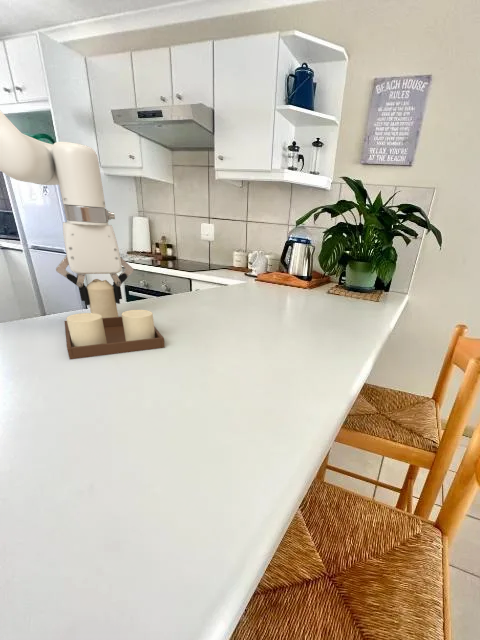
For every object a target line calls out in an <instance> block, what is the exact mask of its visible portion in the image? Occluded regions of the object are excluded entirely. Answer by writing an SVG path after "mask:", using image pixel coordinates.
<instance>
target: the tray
mask: <svg viewBox="0 0 480 640" xmlns="http://www.w3.org/2000/svg"><path fill="white" fill-rule="evenodd" d="M102 320H103V325H104V331H105V336H106V341H107V343H105V344H96V345H87V346H78V347H73V344H72V340H71V336H70V332H69V328H68V324H67V320H64V322H63V323H64V331H65V342H66V343H65V344H66V351H67V355H68V358H69V360H78V359H86V358H93V357H94V358H95V357H102V356H103V357H104V356H109V355H118V354H119V355H120V354H126V353H127V354H128V353H132V352H133V353H134V352H141V351H150V350H157V349H166V345H165V344H166V343H165V337H164V336H163V335H162V334H161V332H160V331H159V330H158V329H157V327H156V326H155V325H154V330H155V338H152V339H142V340H133V341H126V339H125V333H124V326H123V320H122V316H118V317H110V318H102Z"/></svg>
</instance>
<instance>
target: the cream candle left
mask: <svg viewBox="0 0 480 640" xmlns="http://www.w3.org/2000/svg"><path fill="white" fill-rule="evenodd" d="M65 320H66V321H67V324H68V328H69V332H70V336H71V340H72V344H73V347H78V346H87V345H96V344H105V343H107V341H106V336H105V331H104V325H103V320H102V316H101V315H99V314H95V313H91V312H80V313H75V314H71V315H68V316H67V317H66V319H65Z"/></svg>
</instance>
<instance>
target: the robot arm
mask: <svg viewBox="0 0 480 640" xmlns="http://www.w3.org/2000/svg"><path fill="white" fill-rule="evenodd" d="M11 121H12V120H10V119H9V118H8V116H6V115H5V114H4V112H2V110H0V172H2V173H3V174H5V175H6V176H7V177H9V178H11V179H13V180H16V181H19V182H24V183H31V184H36V185H41V186H59V190H60V195H61V200H62V204H63V210H64V214H65V219H66V221H63V222H62V231H63V232H62V234H63V235H62V236H63V242H64V243H63V244H64V248H65V253H66V255H65V256H64V258H62V260H61V261H60V263H58V265H57V266H56V268H55V271H56V273H58V274H59V275H61V276H62V277H64V278H66V279H67V280H68V281H70V282H71V283H73V284H74V285H75V286H76V287H78V292H79V296H80V300H81V302H84V303H85V306H90V303H89V298H88V293H87V289H86V286H87V285H85V278H86V275H99V274H100V275H108V274H109V275H110V277H111V279H112V281H113V284H111V285H112V286H113V287H114V293H115V299H116V305H119V304H121V300H123V295H122V289H121V286H122V284H124V282H125V281H126V280H127V279H128V277H129V276H130V275H132V274H133V272H134V271H135V270H134V267H132V266H131V265H130V264H129V263H128V262H127V261H126V260H125V259H123V258H122V256H121V254H120V248H119V245H118V241H117V237H116V234H115V231H114V228H113V225H112V224H109V221H111V220H116V216H115V212H114V211H113V212H112V211H110V210H107V208H106V201H105V195H104V189H103V188H104V187H103V181H102V176H101V175H102V174H101V168H100V162H99V157H98V154H97V153H96V151H95V150H94V148H93V147H90V146H88V145H85V144H80V143H76V142H70V141H55V142H54V143H48V142H45V141H41V140H39V139H36V138H34V137H32V136H29V135H27V134H25V133H22V131H20V130H19V129H18V128H17V127H16V126H15V125H14V124H13V122H11ZM67 267H69V269H70V270H71V272H73V273H75V274H76V275H74V274H73V273H71V272H69V271H68V270H67ZM123 268H124V270H123V271H122V269H123ZM120 272H121V273H120ZM119 273H120V274H119ZM118 274H119V275H118Z"/></svg>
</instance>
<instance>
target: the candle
mask: <svg viewBox="0 0 480 640" xmlns="http://www.w3.org/2000/svg"><path fill="white" fill-rule="evenodd" d="M112 285H113V284H111V283H110V282H109V281H108V280H107V279H103V280H101V279H99V278H95V279H92V280H91V281H90V282H89V283H88V284H87V285H85V286H86V289H87V293H88V298H89V303H90V305H89V309H90V310H89V311H90V313H95V314H99V315H101V316H102V318H110V317H119V312H118V304H117V303H116V299H115V293H114V287H113V286H112Z"/></svg>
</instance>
